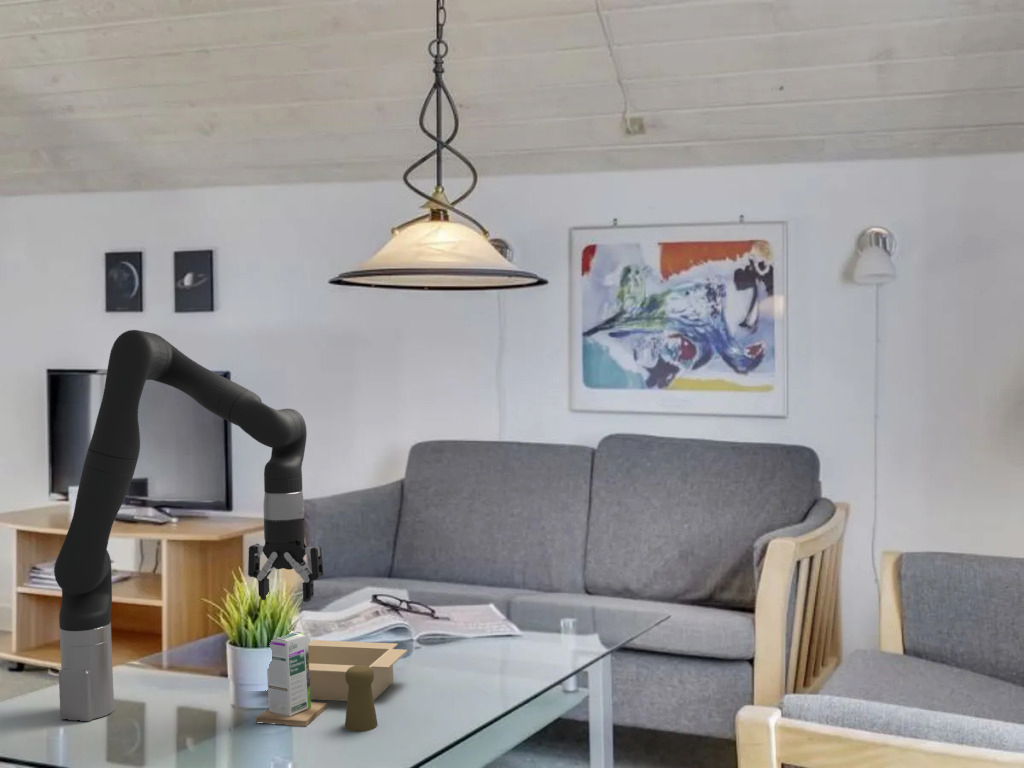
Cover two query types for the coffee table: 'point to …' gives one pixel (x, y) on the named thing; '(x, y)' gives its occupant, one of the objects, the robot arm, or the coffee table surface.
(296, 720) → the coaster
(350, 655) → the carton
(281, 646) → the syrup box
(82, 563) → the robot arm
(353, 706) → the pepper shaker
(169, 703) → the coffee table surface
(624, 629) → the coffee table surface
